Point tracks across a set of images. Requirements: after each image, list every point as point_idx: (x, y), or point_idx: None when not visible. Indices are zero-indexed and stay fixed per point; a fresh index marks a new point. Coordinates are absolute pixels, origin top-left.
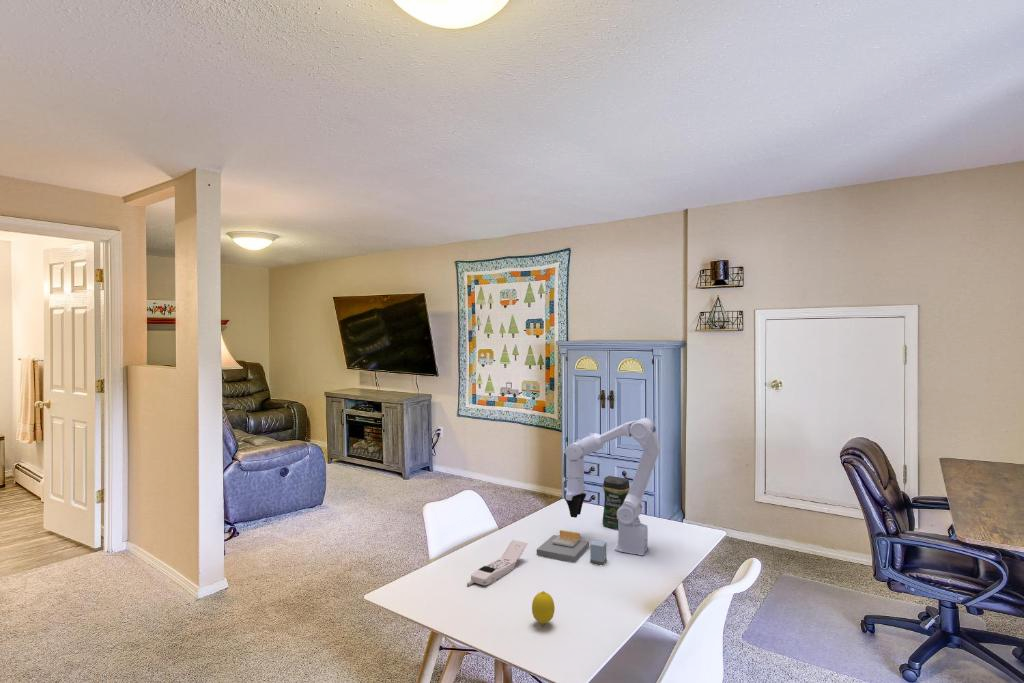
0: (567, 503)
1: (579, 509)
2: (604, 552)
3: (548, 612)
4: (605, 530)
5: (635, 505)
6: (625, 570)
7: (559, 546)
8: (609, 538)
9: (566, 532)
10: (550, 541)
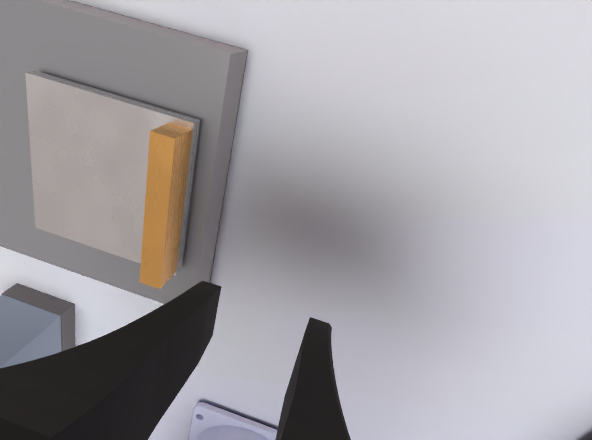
0: (47, 359)
1: (282, 411)
2: None
3: None
4: (535, 408)
5: None
6: None
7: None
8: (379, 405)
9: (146, 190)
10: (83, 50)
